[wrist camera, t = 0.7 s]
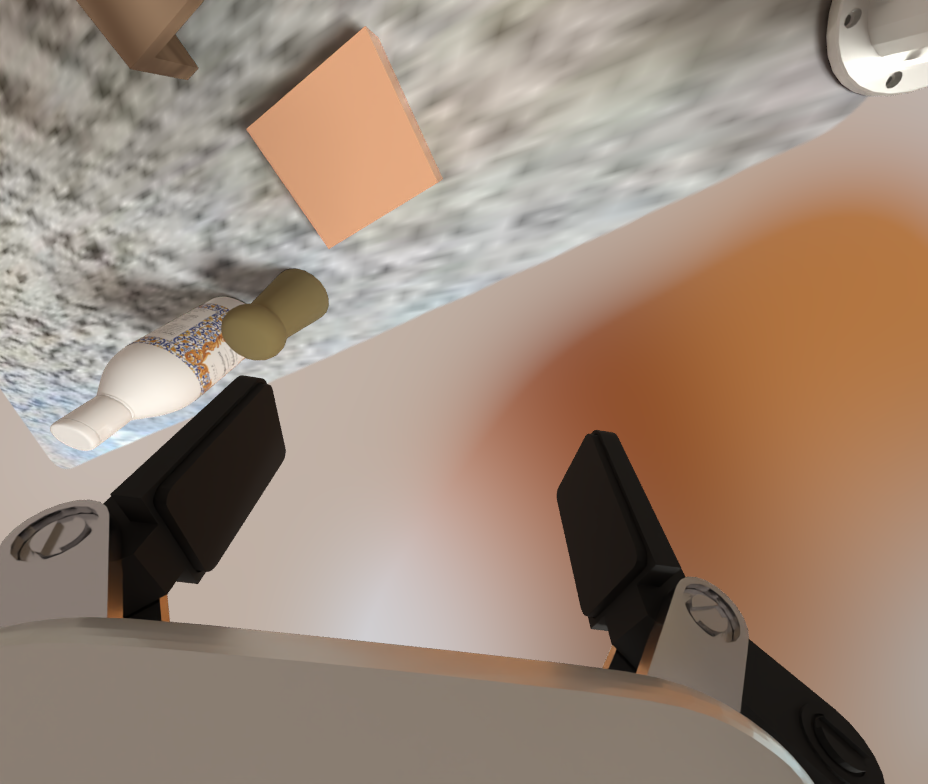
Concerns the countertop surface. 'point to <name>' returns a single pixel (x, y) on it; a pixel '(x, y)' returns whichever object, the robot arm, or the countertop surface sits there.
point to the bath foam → (154, 376)
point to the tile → (347, 141)
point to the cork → (275, 315)
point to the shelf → (146, 33)
